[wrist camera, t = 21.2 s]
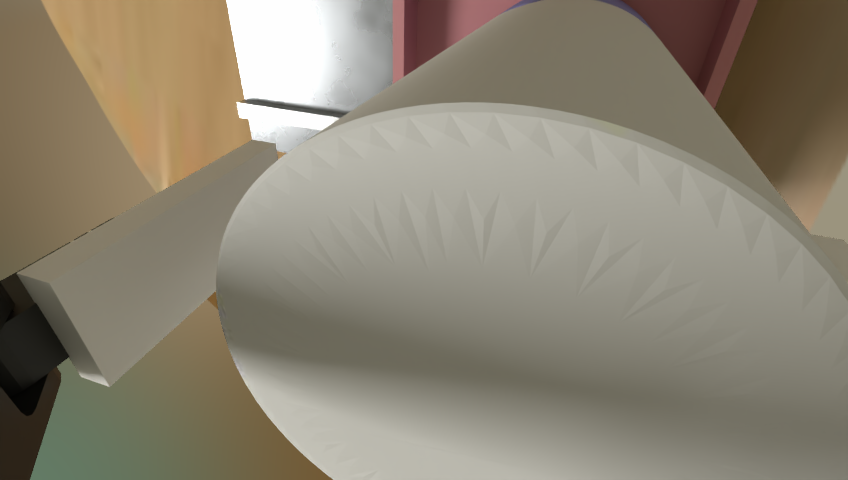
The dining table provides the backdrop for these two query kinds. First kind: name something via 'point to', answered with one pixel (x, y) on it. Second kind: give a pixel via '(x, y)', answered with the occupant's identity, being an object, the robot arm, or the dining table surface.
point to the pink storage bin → (656, 3)
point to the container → (538, 276)
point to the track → (309, 62)
